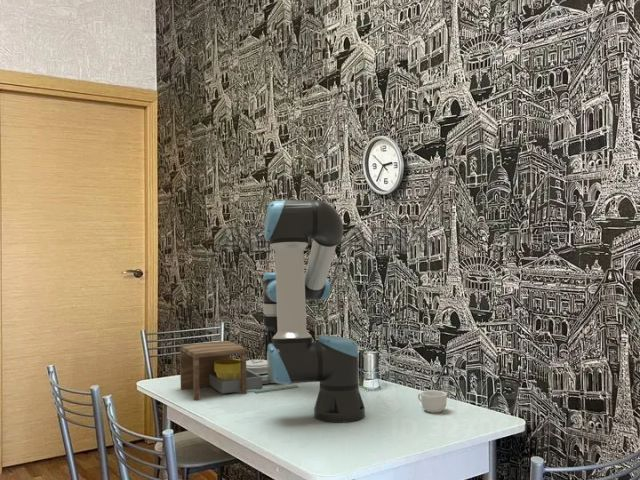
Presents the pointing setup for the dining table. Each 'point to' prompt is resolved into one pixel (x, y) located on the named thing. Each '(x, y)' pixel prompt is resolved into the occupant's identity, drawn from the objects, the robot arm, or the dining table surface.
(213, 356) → the tunnel
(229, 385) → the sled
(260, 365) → the lid
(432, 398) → the teacup
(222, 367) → the plant pot
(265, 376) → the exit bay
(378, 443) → the dining table surface
